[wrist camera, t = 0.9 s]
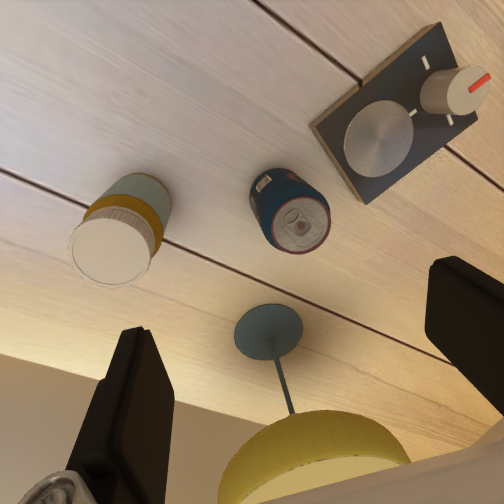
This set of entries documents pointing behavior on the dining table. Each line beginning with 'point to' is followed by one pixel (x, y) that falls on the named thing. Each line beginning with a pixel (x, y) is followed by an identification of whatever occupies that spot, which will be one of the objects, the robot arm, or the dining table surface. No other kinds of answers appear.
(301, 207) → the soda can
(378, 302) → the dining table surface
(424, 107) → the hob knob
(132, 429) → the robot arm
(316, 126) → the hob
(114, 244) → the bottle
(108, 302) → the dining table surface
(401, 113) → the burner ring
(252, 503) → the cocktail glass
